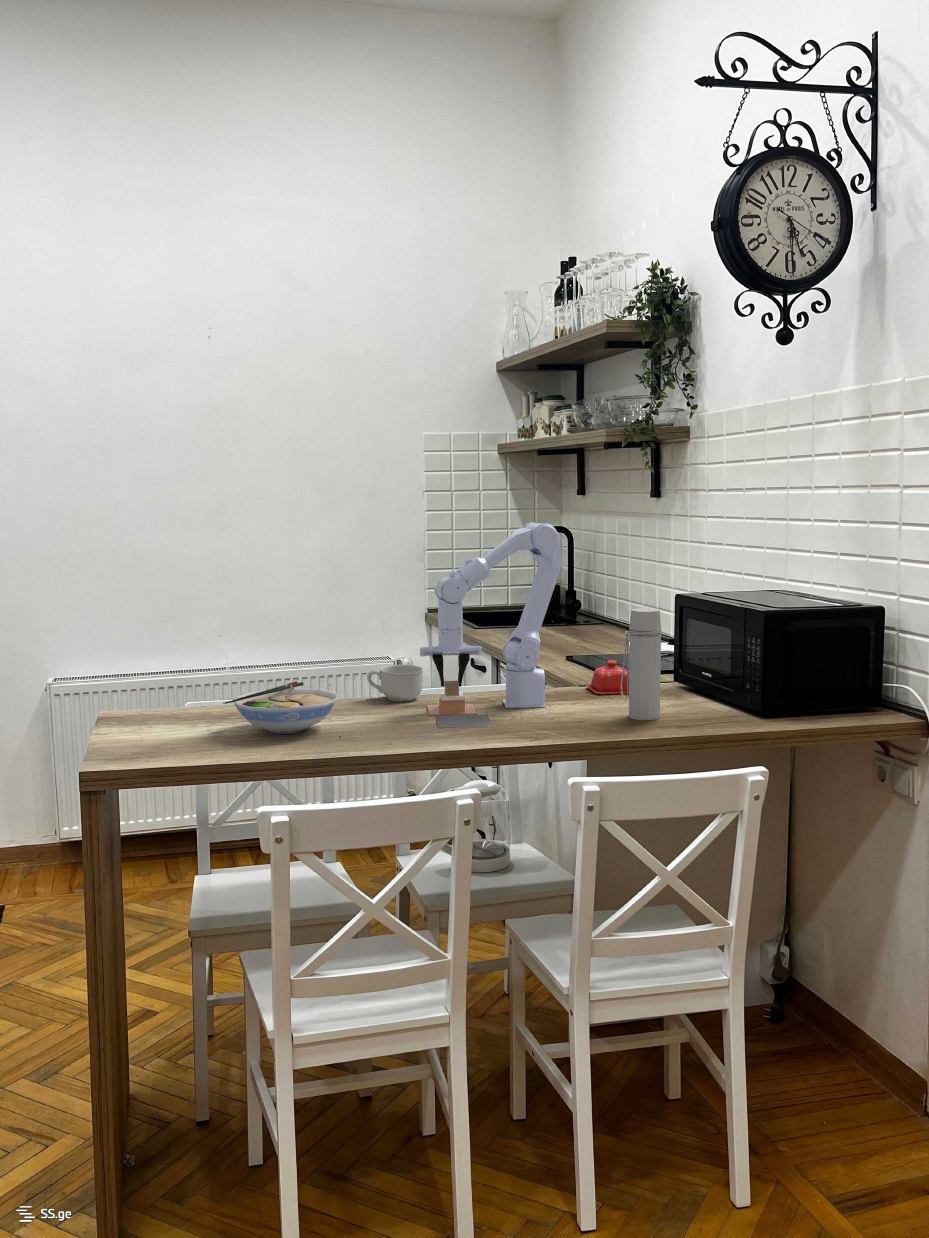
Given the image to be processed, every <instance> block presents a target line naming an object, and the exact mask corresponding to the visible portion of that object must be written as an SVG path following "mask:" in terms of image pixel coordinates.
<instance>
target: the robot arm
mask: <svg viewBox="0 0 929 1238" xmlns="http://www.w3.org/2000/svg"><path fill="white" fill-rule="evenodd" d="M561 540H562V537H561V535H560V534H559V532H558V531H557V529H556V528H555V526H553V525H552V524H550V523H548V522H547V523H538V522H534V521H533V522H532V521H531V522H528V523H525V524H524V525H523V526H522V527H519V528H518V529H516V530H515V531H513V532H512V533H511V534H510V535H508V536H507V537H506V538H505V539H504V540H502V541H501V542H500V543H499V544H497V545H496V546H495V547H494V548H492V549H491V550H490V551H489V552H488V553H485V555H484V556H483V557H476V556H474V557H473V558H471V557H468V558H466V559H465V560H464V562H465V563H464V564H463V565H462V566H460V567H459V568H457V569H456V570H455V571H454V570H451V571H450V572H449V576H446V577H442V578H440V579H439V580H438V582H437V584H436V585H435V588H434V594H435V596H436V597H437V598H438V599H437V600H438V602H437V603H438V605H437V606H438V609H437V615H438V617H437V621H438V622H437V623H438V625H437V626H438V632H437V633H438V636H437V637H438V645H436V646H420V647H419V657H427V656H428V657H430V656H431V657H432V661H433V663H434V665H435V668H436V670H437V673H438V675H439V680H440V687H441V688H442V687H444V688H445V677H444V676H445V675H444V656H457V658H458V659H457V662H458V674H457V676H458V677H457V681H458V682H459V687H462V686H463V684H462V683H463V679H464V675H465V673H466V672H465V671H466V670H467V669H466V668H467V666H468V664H469V662H470V659H471V656H482V655H483V647H482V646H481V645H464V635H463V634H464V629H463V628H464V627H463V625H464V624H463V623H464V622H463V620H464V618H463V616H464V615H463V613H464V611H463V601H464V599H465V597H466V595H467V593H469V592H470V591H471V590H473V589H474V588H475V587H477V586H478V585H480V583H482V582H483V581H485V580H487V579H488V578H489V577H490V572H491V569H493V568H494V567H495V566H497V565H498V564H500V563H502V562H503V561H505V560H506V559H507V558H509V557H511V556H512V555H513V554H515V553H516V552H519V551H529V552H530V553H532V556H533V557H534V559H535V560H536V562H537V565H538V567H537V568H536V571H535V575H534V577H533V578H534V579H533V581H532V583H531V587H530V590H529V593H528V596H527V599H526V602H525V604H524V608H523V610H522V613H521V616H520V620H519V622H518V625H517V626H516V628H515V629H514V630H513V631H512V632H511V634H510V637H509V639H508V640H507V641H506V642H505V643H504V645H503V646H502V650H501V651H502V652H501V653H502V658H503V659H504V661H506V665H505V699H503V700H502V703H503V705H504V707H505V708H506V709H524V708H528V709H529V708H546V674H545V670H544V668H537V667H536V666H537V664H538V663H539V661H540V646H541V639H540V630H541V628H542V625H543V623H544V619H545V616H546V613H547V610H548V608H549V605H550V602H551V598H552V595H553V592H554V589H555V587H556V583H557V581H558V578H559V576H560V575H559V574H560V572H561V569H562V567H563V566H562V565H563V556H562V549H561Z"/></svg>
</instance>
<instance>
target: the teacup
mask: <svg viewBox="0 0 929 1238" xmlns="http://www.w3.org/2000/svg"><path fill="white" fill-rule="evenodd" d="M423 673H424V667H421V666H420V665H419V666H418V665H413V664H390V665H386V666H383V667H381V668H380V670H377V669H371V670H370V671H369V672H368V673H367V675H366V681H367V682H368V683H369V685H370V686H371V687H372V688H373V689H376V690H378V692H379V693H380V694H383V695H384V696H385V697H386V698H387V700H390V701H392V702H399V703H400V702H410V701H413V700H416V699H417V698H418V696H420V695H421V693H422V691H423V682H424V674H423ZM373 675H377V676H378V679H379V681H380V685H378V684H376V683H375V682H373V680H372V676H373Z"/></svg>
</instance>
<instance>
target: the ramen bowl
mask: <svg viewBox="0 0 929 1238" xmlns="http://www.w3.org/2000/svg"><path fill="white" fill-rule="evenodd" d="M300 686H304V682H302V681H300V682H298V681H293V682H289V683H286V684H283V685H280V686H275V687H272V688H269V689H262V690H256V691H255V690H254V691H250V692H246V693H242V694H240V695H237V696H235V697H234V698H233V699H232V700H229V701H226V702H223V703H222V705H223V704H227V705H228V704H231V703H233V705H234V707H236V708H235V709H236V710H237V711H238V712H239V713H240V715H241V716H242V717H243V718H244V719H245V720H246V721H247V722H248V723H250V724H251V725H253V726H255V727H258V728H259V729H263V730H267V731H269V732H270V733H272V734H280V735H287V734H296V733H301V732H302V731H304V730H306V729H308V728H310V727H312V726H315V725H316V724H318V723H321V722H322V721H323V720H325V718H326V717H327V716H328V715H329V714H330V712H331V710H332V709H333V707H334V706H335V703H336V702H337V699H338V697H339V694H337V693H336V692H334V691H330V690H326V689H322V688H321V689H320V688H308V687H307V688H306V687H300Z"/></svg>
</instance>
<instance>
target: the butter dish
mask: <svg viewBox="0 0 929 1238" xmlns="http://www.w3.org/2000/svg"><path fill="white" fill-rule="evenodd" d="M617 663H618V662H617V661H616V660H613V659H609V660H607V661H606V664H607V665H606V666H601V667H597V668H596V669H595V670H594V671H593V674H592V678H591V682H590V683H589V684H588V683H587V684H586V685H585V687H587V688H588V689H589V690H591V691H592V692H594V693H595V694H596V695H600V696H602V695H603V696H604V695H621V686H620V685H621V677H622V669H623V667H620V666H617ZM622 692H623V695H624V694H627V669H625V668H624V672H623V681H622ZM628 695H629V693H628Z"/></svg>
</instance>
